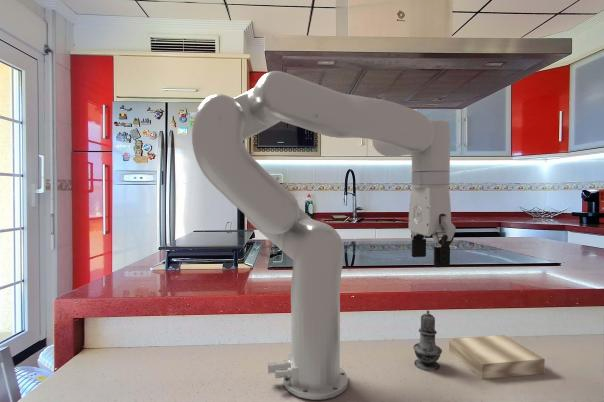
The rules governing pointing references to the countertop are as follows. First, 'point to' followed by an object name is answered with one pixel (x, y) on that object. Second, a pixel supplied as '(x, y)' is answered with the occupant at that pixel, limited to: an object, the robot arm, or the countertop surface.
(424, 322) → the weathered stone finial
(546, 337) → the countertop surface
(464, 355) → the birch base block
